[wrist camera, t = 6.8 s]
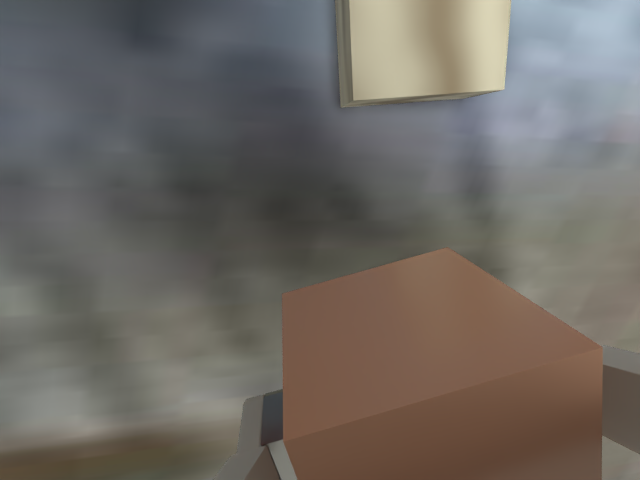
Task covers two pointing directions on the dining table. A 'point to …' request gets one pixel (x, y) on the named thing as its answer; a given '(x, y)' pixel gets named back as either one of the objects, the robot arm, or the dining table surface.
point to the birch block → (420, 49)
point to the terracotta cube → (436, 379)
